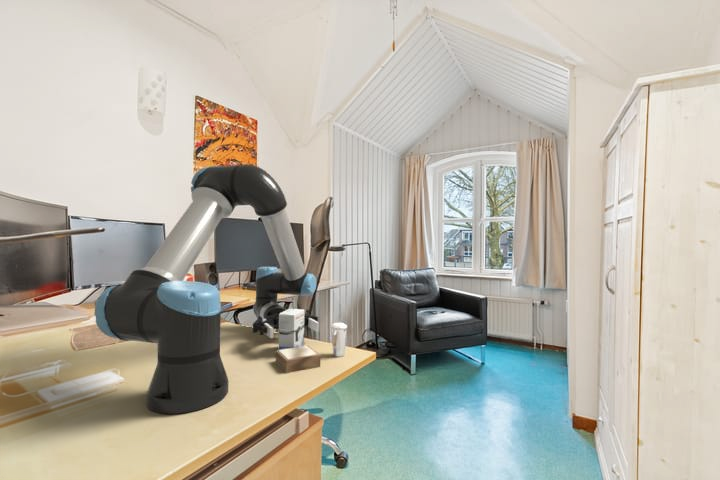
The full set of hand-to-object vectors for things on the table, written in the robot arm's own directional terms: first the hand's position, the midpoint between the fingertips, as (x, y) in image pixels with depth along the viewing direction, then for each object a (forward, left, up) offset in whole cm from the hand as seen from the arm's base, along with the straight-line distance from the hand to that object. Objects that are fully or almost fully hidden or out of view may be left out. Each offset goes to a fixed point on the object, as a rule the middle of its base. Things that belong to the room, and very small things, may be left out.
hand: (295, 330), depth 98 cm
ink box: (0, +3, -7) cm, 8 cm away
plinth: (-2, -7, -7) cm, 10 cm away
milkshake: (+11, -6, -7) cm, 15 cm away
